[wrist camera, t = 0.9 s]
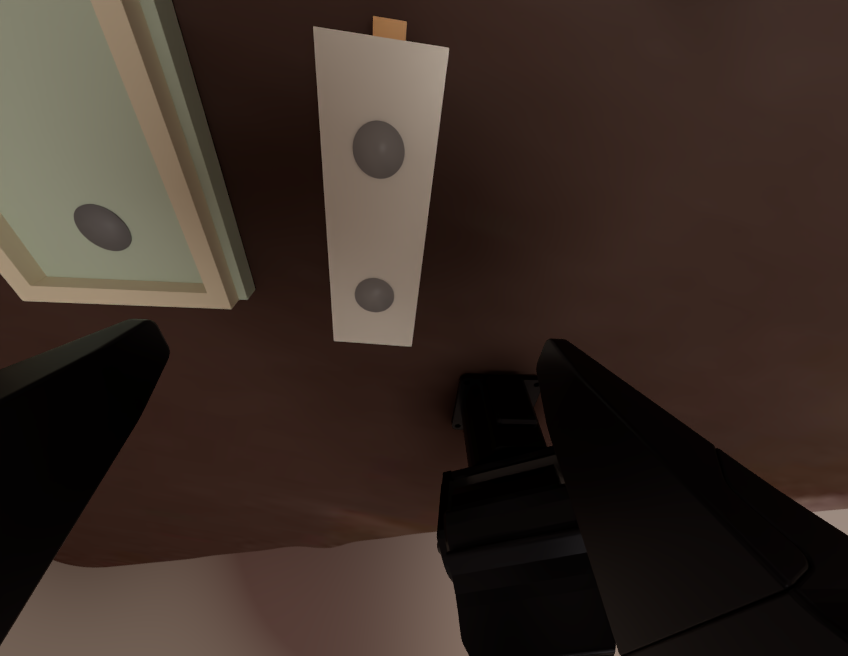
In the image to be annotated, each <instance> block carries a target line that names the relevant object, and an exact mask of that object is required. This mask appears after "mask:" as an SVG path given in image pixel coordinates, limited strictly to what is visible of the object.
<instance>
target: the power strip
mask: <svg viewBox="0 0 848 656" xmlns="http://www.w3.org/2000/svg"><path fill="white" fill-rule="evenodd" d="M406 30H407V21H401V20H394V19H388V18H382V17H376V16H373V36H371V35H365V34H359V33H352V32H346V31H340V30H334V29H327V28H321V27H315V26H313V33H314V48H315V63H316V79H317V94H318V109H319V124H320V139H321V154H322V169H323V184H324V199H325V214H326V229H327V244H328V259H329V274H330V289H331V304H332V320H333V335H334V341H341V342H354V343H368V344H382V345H396V346H409V347H412V339H413V331H414V323H415V315H416V307H417V299H418V292H419V284H420V276H421V268H422V260H423V252H424V244H425V236H426V228H427V220H428V212H429V205H430V197H431V189H432V181H433V173H434V165H435V157H436V149H437V141H438V133H439V125H440V118H441V110H442V102H443V94H444V86H445V78H446V70H447V62H448V54H449V48H447V47H441V46H434V45H428V44H422V43H415V42H409V41H406Z"/></svg>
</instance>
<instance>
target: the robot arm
mask: <svg viewBox="0 0 848 656" xmlns="http://www.w3.org/2000/svg"><path fill="white" fill-rule="evenodd" d="M169 354H170V350H169V347H168V344H167V343H166V341H165V339H164V337H163V335H162V333H161V331H160V329H159V327H158V326H157V324H156V323H155V322H154V321H152V320H147V319H129V320H126V321H123V322H121V323H118V324H116V325H113V326H111V327H108V328H106V329H103V330H100V331H98V332H95V333H93V334H90V335H88V336H85V337H83V338H80V339H77V340H75V341H72V342H70V343H67V344H65V345H62V346H60V347H57V348H54V349H52V350H49V351H47V352H44V353H42V354H39V355H36V356H34V357H31V358H29V359H26V360H24V361H21V362H19V363H16V364H13V365H11V366H8V367H6V368H3V369H1V370H0V645H1V644H2V642H3V640H4V639H5V637H6V636H7V634H8V632H9V631H10V629H11V627H12V626H13V624H14V623H15V621H16V619H17V618H18V616H19V614H20V613H21V611H22V610H23V608H24V606H25V605H26V603H27V601H28V600H29V598H30V596H31V595H32V593H33V592H34V590H35V588H36V587H37V585H38V583H39V582H40V580H41V579H42V577H43V575H44V574H45V572H46V570H47V569H48V567H49V566H50V564H51V562H52V561H53V559H54V557H55V556H56V554H57V552H58V551H59V549H60V548H61V546H62V544H63V543H64V541H65V539H66V538H67V536H68V535H69V533H70V531H71V530H72V528H73V526H74V525H75V523H76V522H77V520H78V518H79V517H80V515H81V513H82V512H83V510H84V509H85V507H86V505H87V504H88V502H89V500H90V499H91V497H92V495H93V494H94V492H95V491H96V489H97V487H98V486H99V484H100V482H101V481H102V479H103V478H104V476H105V474H106V473H107V471H108V469H109V468H110V466H111V465H112V463H113V461H114V460H115V458H116V456H117V455H118V453H119V451H120V450H121V448H122V447H123V445H124V443H125V442H126V440H127V438H128V437H129V435H130V434H131V432H132V430H133V429H134V427H135V425H136V424H137V422H138V420H139V418H140V417H141V415H142V413H143V411H144V409H145V407H146V405H147V403H148V401H149V398H150V396H151V394H152V392H153V390H154V388H155V386H156V384H157V382H158V379H159V377H160V375H161V373H162V371H163V369H164V367H165V365H166V363H167V360H168V358H169ZM536 371H537V376H503V375H469V374H467V375H463V376H462V377H461V378H460V382H459V387H458V392H457V397H456V402H455V407H454V412H453V417H452V428H454V429H463V430H464V438H465V445H466V452H467V459H468V466H469V467H468V468H464V469H460V470H456V471H452V472H451V471H447V472H443V479H442V484H441V494H440V506H439V517H438V528H437V540H438V543H437V548H438V552H439V553H440V554H441V556H442V560H443V563H444V567H445V569H446V572H447V574H448V576H449V578H450V579H451V580H452V582H453V584H454V589H455V594H456V601H457V608H458V615H459V624H460V632H461V639H462V642H463V645H464V647H465V648H466V650H467V652H468V654H469V656H614V654H615V648H616V645H617V648H618V652H619V654H620V655H621V656H848V535H846V534H845V533H843V532H842V531H840V530H838V529H837V528H835V527H834V526H832V525H831V524H829V523H828V522H826V521H824V520H823V519H822V518H820V517H818V516H817V515H815V514H814V513H812V512H811V511H809V510H808V509H806V508H805V507H803V506H802V505H800V504H799V503H797V502H796V501H794V500H793V499H791V498H789V497H788V496H786V495H785V494H783V493H782V492H780V491H779V490H777V489H776V488H774V487H773V486H771V485H770V484H769V483H767V482H766V481H764V480H763V479H761V478H760V477H758V476H757V475H756V474H754V473H753V472H751V471H750V470H748V469H747V468H746V467H744V466H743V465H741V464H740V463H738V462H737V461H736V460H734V459H733V458H731V457H730V456H729V455H727V454H726V453H724V452H723V451H722V450H720V449H718V448H715V446H714V445H713V444H712V443H710V442H709V441H707V440H706V439H705V438H703V437H702V436H700V435H699V434H698V433H696V432H695V431H693V430H692V429H691V428H689V427H688V426H686V425H685V424H684V423H682V422H681V421H679V420H678V419H677V418H675V417H674V416H672V415H671V414H670V413H668V412H667V411H665V410H664V409H663V408H661V407H660V406H658V405H657V404H656V403H654V402H653V401H651V400H650V399H649V398H647V397H646V396H644V395H643V394H642V393H640V392H639V391H637V390H636V389H635V388H633V387H632V386H630V385H629V384H628V383H626V382H625V381H623V380H622V379H621V378H619V377H618V376H616V375H615V374H614V373H612V372H611V371H609V370H608V369H607V368H605V367H604V366H602V365H601V364H599V363H598V362H597V361H595V360H594V359H592V358H591V357H590V356H588V355H587V354H585V353H584V352H583V351H581V350H580V349H578V348H577V347H576V346H574V345H573V344H571V343H570V342H569V341H567V340H565V339H548V340H547V341H546V343H545V345H544V347H543V350H542V352H541V355H540V357H539V360H538V362H537V368H536ZM467 380H468V381H467ZM540 393H541V398H542V403H543V408H544V413H545V418H546V423H547V427H548V431H549V434H550V438H551V441H552V444H553V446H550V447H547V445H546V442H545V439H544V437H543V434H542V431H541V428H540V425H539V423H538V419H537V416H536V414H535V411H534V405H535V403H536V401H537V398H538V396H539V394H540Z"/></svg>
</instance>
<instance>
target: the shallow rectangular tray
mask: <svg viewBox="0 0 848 656" xmlns="http://www.w3.org/2000/svg"><path fill="white" fill-rule="evenodd" d="M0 274H1V275H2V276H3V277H4V278H5V280H6V281H7V282H8V283H9V285H10V286H11V287H12V288H13V289H14V291H15V292H16V293H17V294H18V296H19V297H20V298H21V299H22V300H23V301H38V302H63V303H88V304H113V305H138V306H164V307H189V308H214V309H232V308H233V307H234V305H235V304H236V303H237V302H238V300H248V299H249V298H250V296H251V295H252V293H253V292H254V291H255V286H254V282H253V279H252V275H251V272H250V268H249V265H248V262H247V258H246V255H245V251H244V248H243V244H242V241H241V237H240V234H239V231H238V227H237V224H236V220H235V217H234V213H233V210H232V206H231V203H230V199H229V196H228V193H227V189H226V186H225V182H224V179H223V175H222V172H221V168H220V165H219V162H218V158H217V155H216V151H215V148H214V144H213V141H212V137H211V134H210V131H209V127H208V124H207V120H206V117H205V113H204V110H203V106H202V103H201V99H200V96H199V93H198V89H197V86H196V82H195V79H194V75H193V72H192V68H191V65H190V62H189V58H188V55H187V51H186V48H185V44H184V41H183V37H182V34H181V30H180V27H179V24H178V20H177V17H176V13H175V10H174V6H173V3H172V0H0Z"/></svg>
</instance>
